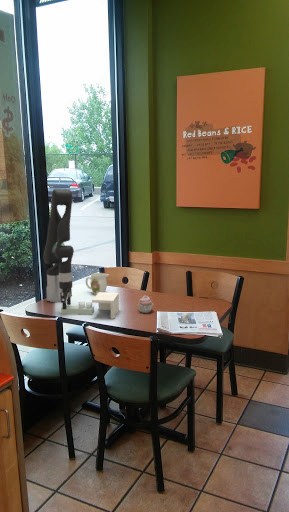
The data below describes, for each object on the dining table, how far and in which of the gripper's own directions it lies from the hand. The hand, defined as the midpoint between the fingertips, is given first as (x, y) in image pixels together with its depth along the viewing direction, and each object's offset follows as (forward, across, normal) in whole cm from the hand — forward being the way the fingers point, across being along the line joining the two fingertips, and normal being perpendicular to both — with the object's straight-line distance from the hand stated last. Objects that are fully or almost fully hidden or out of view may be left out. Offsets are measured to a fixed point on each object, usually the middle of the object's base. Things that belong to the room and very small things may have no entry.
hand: (66, 306), depth 241 cm
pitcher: (+3, -41, +9) cm, 42 cm away
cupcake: (+4, -6, +45) cm, 46 cm away
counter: (+4, 0, +23) cm, 24 cm away
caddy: (+4, 0, +6) cm, 7 cm away
